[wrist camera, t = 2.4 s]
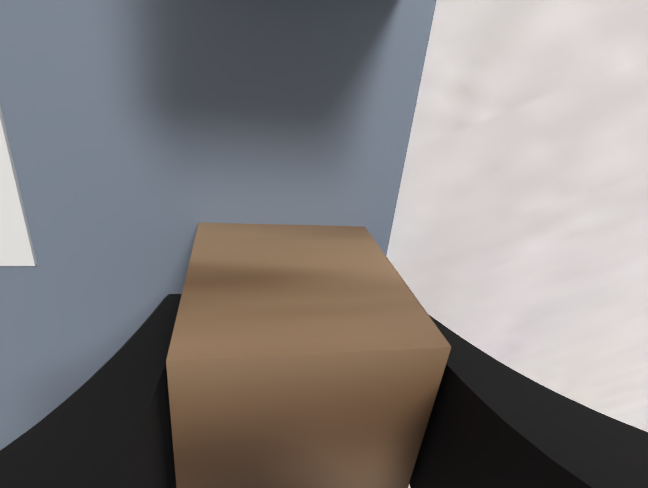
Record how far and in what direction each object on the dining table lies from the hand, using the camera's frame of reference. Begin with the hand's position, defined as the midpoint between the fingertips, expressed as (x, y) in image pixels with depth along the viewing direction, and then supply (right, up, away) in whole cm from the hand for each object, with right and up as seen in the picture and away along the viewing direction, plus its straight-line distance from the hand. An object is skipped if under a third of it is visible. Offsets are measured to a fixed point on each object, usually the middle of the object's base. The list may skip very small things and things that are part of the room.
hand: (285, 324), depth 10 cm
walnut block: (0, +1, +1) cm, 1 cm away
